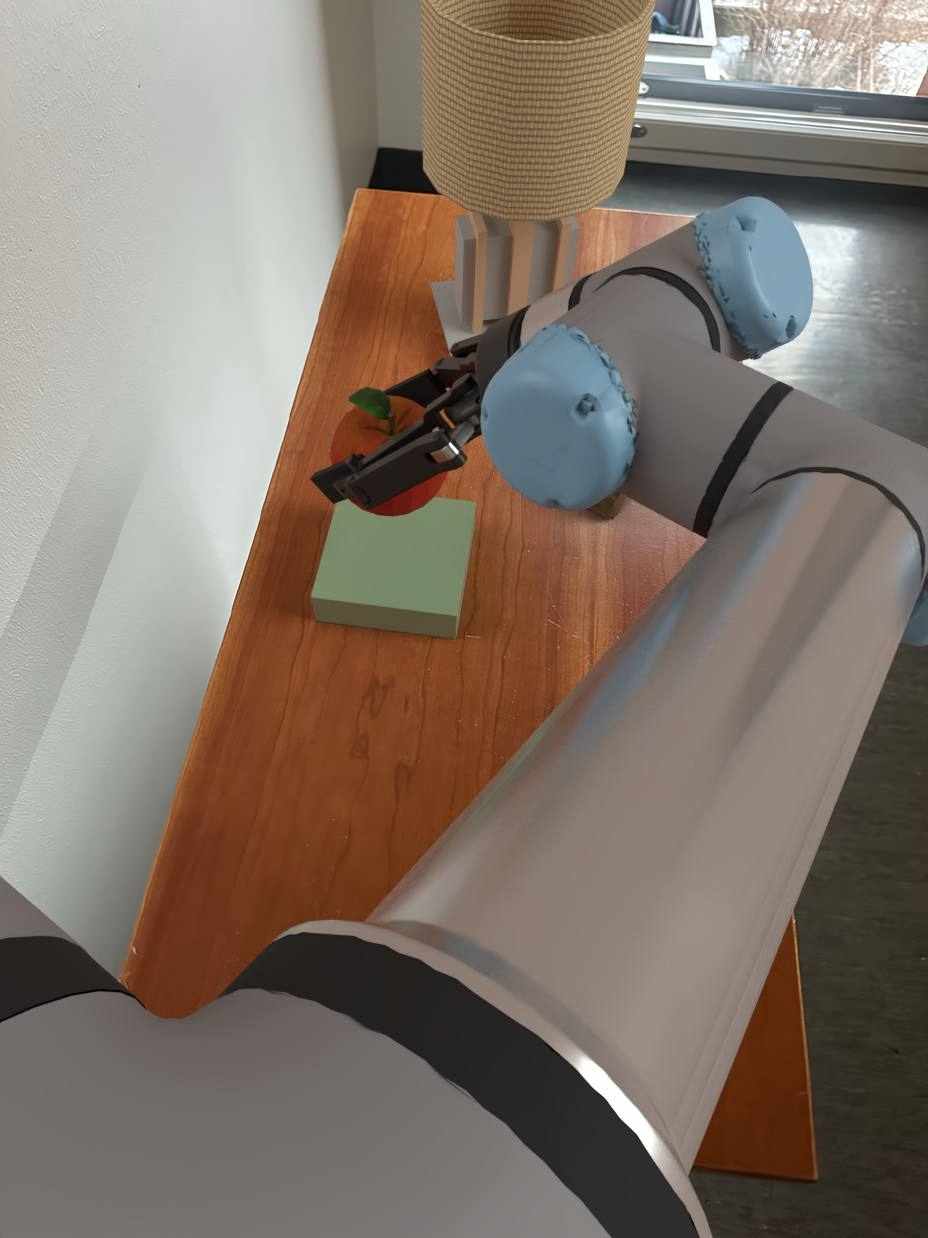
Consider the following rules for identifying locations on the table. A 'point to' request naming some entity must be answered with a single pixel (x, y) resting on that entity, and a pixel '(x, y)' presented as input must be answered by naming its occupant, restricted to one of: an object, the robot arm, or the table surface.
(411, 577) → the green block
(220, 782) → the table surface
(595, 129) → the desk lamp
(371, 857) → the table surface
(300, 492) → the table surface
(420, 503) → the fruit
